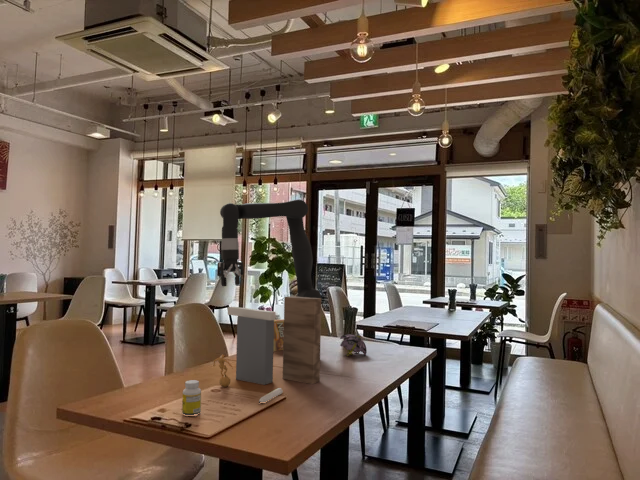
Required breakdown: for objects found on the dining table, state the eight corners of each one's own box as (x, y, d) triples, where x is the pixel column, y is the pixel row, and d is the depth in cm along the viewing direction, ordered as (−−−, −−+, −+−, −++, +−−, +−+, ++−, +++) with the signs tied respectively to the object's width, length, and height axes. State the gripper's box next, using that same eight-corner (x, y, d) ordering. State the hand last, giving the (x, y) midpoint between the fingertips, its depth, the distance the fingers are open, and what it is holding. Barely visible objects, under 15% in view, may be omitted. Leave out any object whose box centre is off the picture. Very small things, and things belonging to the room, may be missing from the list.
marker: (257, 409, 156) (278, 395, 171) (262, 406, 155) (283, 393, 170) (254, 401, 157) (275, 388, 172) (259, 398, 156) (280, 386, 171)
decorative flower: (375, 337, 236) (347, 328, 233) (371, 361, 231) (342, 352, 229) (364, 340, 249) (337, 332, 246) (360, 363, 245) (332, 355, 242)
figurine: (237, 386, 178) (238, 353, 178) (228, 390, 172) (228, 356, 173) (218, 384, 181) (219, 351, 182) (208, 387, 176) (209, 354, 176)
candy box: (282, 348, 254) (283, 319, 254) (287, 349, 250) (288, 319, 251) (268, 350, 248) (269, 320, 249) (273, 351, 245) (273, 321, 245)
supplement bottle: (183, 411, 149) (184, 379, 149) (201, 411, 149) (202, 379, 150) (180, 417, 143) (181, 384, 144) (199, 417, 144) (200, 383, 144)
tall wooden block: (289, 376, 196) (291, 296, 197) (319, 381, 188) (321, 298, 189) (282, 378, 191) (284, 296, 192) (312, 384, 184) (314, 299, 185)
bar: (233, 313, 199) (233, 306, 200) (275, 319, 184) (275, 311, 184) (227, 314, 197) (227, 307, 197) (269, 320, 182) (270, 312, 182)
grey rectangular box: (244, 376, 193) (245, 315, 194) (272, 382, 186) (274, 318, 187) (235, 379, 189) (237, 317, 190) (264, 384, 182) (266, 320, 182)
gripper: (225, 248, 207) (226, 286, 206) (247, 248, 219) (248, 284, 219) (212, 249, 211) (213, 286, 210) (234, 249, 223) (235, 284, 223)
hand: (230, 285), depth 214 cm, fingers open, 8 cm apart
